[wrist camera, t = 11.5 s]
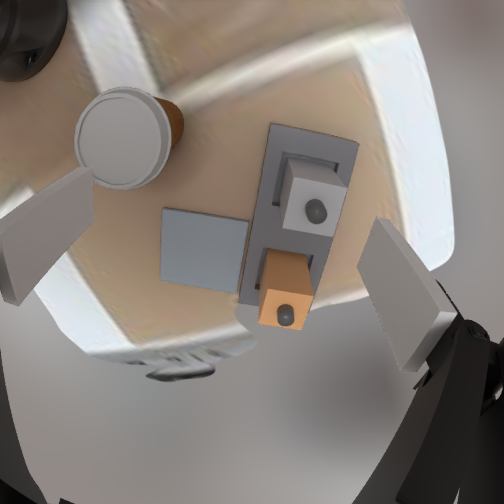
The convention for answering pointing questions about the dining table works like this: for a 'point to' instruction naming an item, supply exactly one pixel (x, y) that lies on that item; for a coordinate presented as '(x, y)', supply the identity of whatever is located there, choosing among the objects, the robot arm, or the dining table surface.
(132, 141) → the disposable coffee cup
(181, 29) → the dining table surface
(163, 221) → the mat
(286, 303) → the plug
